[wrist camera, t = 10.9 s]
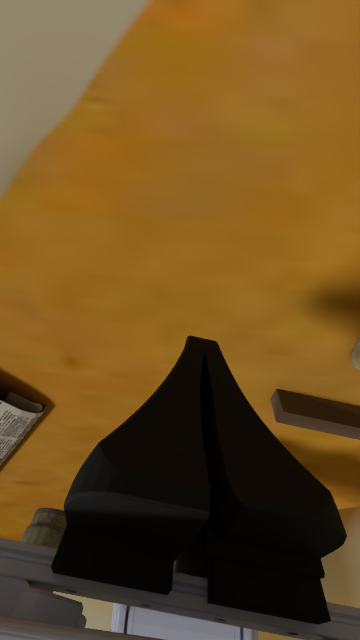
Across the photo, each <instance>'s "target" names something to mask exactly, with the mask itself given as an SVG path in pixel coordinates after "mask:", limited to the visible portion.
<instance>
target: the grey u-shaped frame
mask: <svg viewBox="0 0 360 640" xmlns="http://www.w3.org/2000/svg"><path fill="white" fill-rule="evenodd" d="M270 400H271V403H272V407H273V411H274V415H275V419H276V422H279V423H284V424H288V425H293V426H298V427H302V428H307V429H312V430H316V431H321V432H326V433H330V434H335V435H340V436H344V437H349V438H354V439H358V440H360V407H356V406H352V405H347V404H342V403H338V402H333V401H329V400H324V399H319V398H315V397H310V396H306V395H301V394H297V393H292V392H287V391H283V390H278V389H277V390H276V391H275V393H274V394H273V396H272V398H271V399H270Z"/></svg>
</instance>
